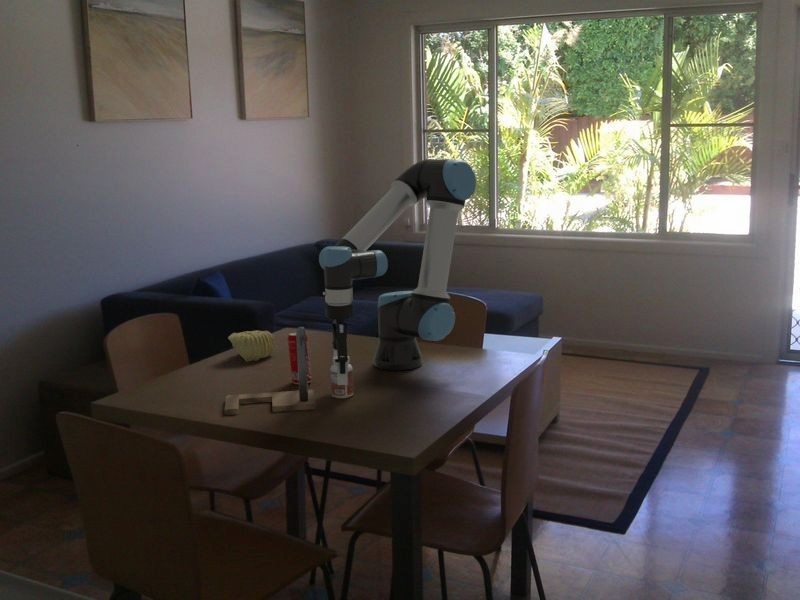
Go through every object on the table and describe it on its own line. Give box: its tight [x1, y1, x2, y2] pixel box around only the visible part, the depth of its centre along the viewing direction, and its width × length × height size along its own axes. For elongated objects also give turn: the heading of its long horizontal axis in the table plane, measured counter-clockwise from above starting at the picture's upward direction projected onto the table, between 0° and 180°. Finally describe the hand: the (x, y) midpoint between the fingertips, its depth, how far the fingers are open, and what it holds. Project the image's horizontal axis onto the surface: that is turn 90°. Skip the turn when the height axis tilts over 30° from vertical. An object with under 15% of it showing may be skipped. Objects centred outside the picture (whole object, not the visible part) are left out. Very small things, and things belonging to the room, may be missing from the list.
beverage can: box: [287, 331, 313, 385], centre depth 264 cm, size 6×6×15 cm
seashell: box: [227, 329, 276, 363], centre depth 294 cm, size 17×11×15 cm
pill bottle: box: [330, 355, 355, 399], centre depth 250 cm, size 6×6×11 cm
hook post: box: [295, 326, 309, 402], centre depth 238 cm, size 2×8×23 cm, turn 8°
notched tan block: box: [224, 389, 317, 416], centre depth 244 cm, size 24×13×2 cm, turn 98°
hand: (340, 378), depth 250 cm, fingers open, 13 cm apart
